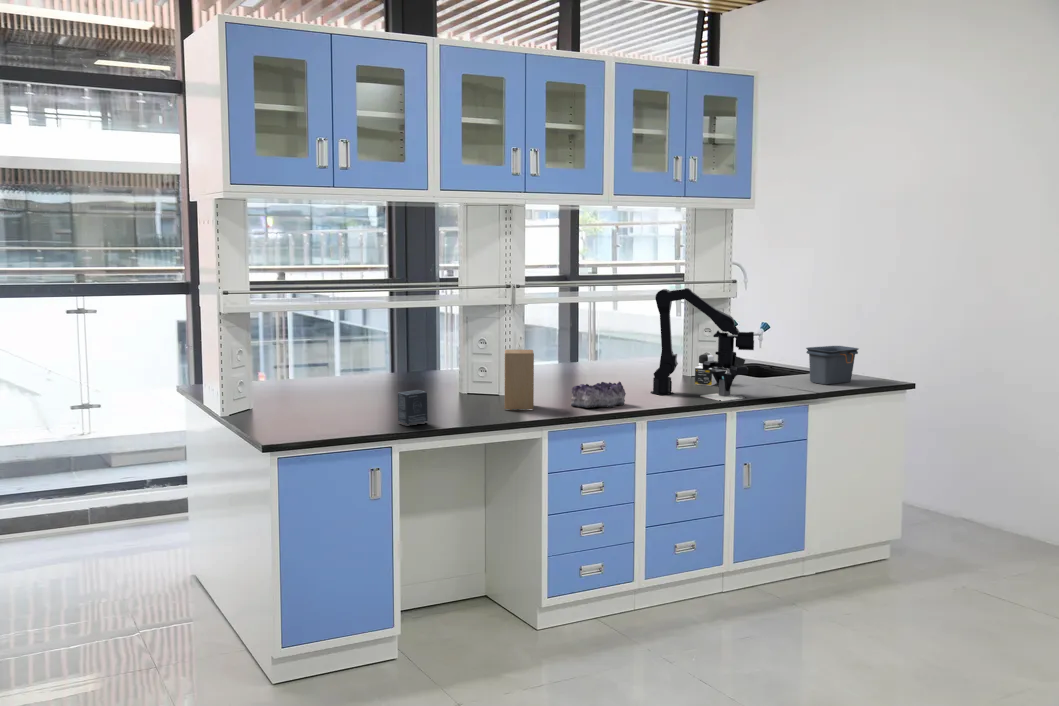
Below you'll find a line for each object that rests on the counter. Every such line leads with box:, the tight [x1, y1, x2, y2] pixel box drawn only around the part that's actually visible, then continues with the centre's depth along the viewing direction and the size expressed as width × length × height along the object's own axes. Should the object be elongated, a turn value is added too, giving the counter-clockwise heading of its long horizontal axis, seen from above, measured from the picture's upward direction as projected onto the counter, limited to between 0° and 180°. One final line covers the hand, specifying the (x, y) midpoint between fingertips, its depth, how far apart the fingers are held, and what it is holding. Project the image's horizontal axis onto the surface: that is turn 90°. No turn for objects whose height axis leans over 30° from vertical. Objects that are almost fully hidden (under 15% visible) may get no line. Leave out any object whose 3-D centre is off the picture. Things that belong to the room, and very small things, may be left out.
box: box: [397, 389, 429, 424], centre depth 311 cm, size 8×6×11 cm
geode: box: [570, 381, 627, 409], centre depth 345 cm, size 20×12×10 cm, turn 117°
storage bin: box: [805, 345, 860, 385], centre depth 399 cm, size 21×16×14 cm
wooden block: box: [504, 349, 535, 411], centre depth 339 cm, size 10×10×20 cm
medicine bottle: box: [694, 354, 717, 387], centre depth 393 cm, size 7×7×12 cm
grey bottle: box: [718, 376, 731, 396], centre depth 365 cm, size 3×3×7 cm
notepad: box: [700, 392, 745, 402], centre depth 363 cm, size 11×12×1 cm
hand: (724, 390), depth 365 cm, fingers closed on grey bottle, 3 cm apart
